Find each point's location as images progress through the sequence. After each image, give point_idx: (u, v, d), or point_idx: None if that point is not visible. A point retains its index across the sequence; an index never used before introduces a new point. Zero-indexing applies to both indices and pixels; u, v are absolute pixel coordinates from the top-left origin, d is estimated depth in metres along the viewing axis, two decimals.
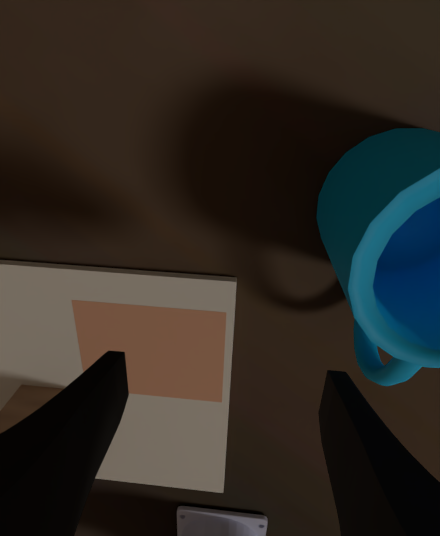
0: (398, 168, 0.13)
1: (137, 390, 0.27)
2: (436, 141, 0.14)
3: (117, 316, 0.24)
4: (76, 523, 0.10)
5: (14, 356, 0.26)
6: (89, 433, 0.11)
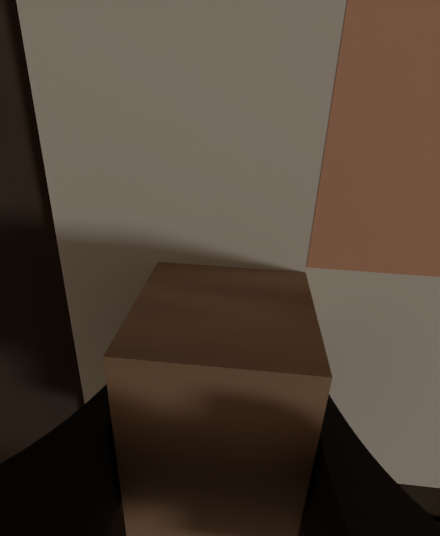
0: None
1: (430, 266, 0.12)
2: None
3: None
4: (111, 528, 0.10)
5: (156, 184, 0.12)
6: None
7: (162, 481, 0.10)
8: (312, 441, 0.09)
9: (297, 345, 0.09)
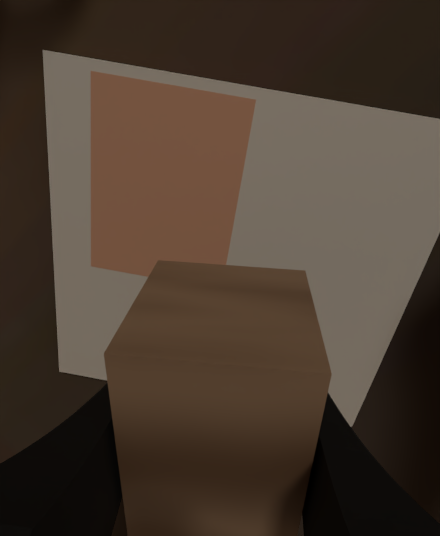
0: None
1: (226, 225, 0.19)
2: None
3: (108, 220, 0.20)
4: (111, 528, 0.10)
5: None
6: None
7: (162, 478, 0.10)
8: (312, 438, 0.09)
9: (296, 342, 0.09)
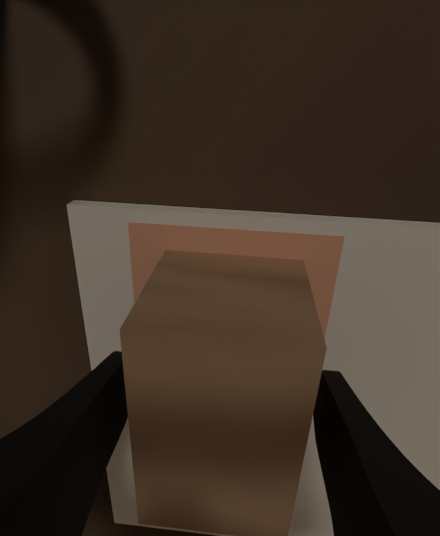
0: None
1: None
2: None
3: None
4: (83, 524, 0.10)
5: None
6: (96, 434, 0.11)
7: (170, 448, 0.11)
8: (308, 409, 0.10)
9: (294, 321, 0.10)
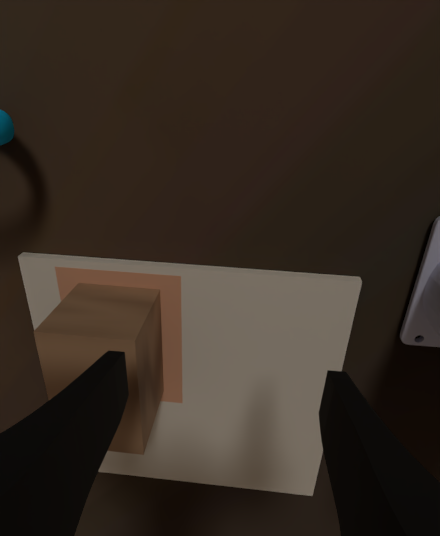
0: None
1: (176, 359, 0.24)
2: None
3: None
4: (76, 523, 0.10)
5: (151, 447, 0.28)
6: (89, 433, 0.11)
7: None
8: (134, 373, 0.18)
9: (128, 327, 0.18)
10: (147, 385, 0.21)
